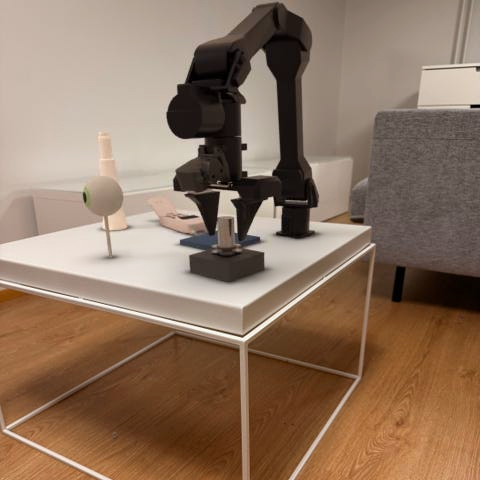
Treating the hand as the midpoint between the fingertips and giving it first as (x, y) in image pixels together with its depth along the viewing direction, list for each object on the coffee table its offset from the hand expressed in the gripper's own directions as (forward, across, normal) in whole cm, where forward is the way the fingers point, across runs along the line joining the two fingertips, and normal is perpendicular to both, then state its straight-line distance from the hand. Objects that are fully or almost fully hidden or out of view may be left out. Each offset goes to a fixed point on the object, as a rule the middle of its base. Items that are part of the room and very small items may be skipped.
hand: (226, 238), depth 77 cm
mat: (+6, -15, +14) cm, 21 cm away
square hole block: (+6, 0, 0) cm, 6 cm away
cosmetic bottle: (+6, -47, +10) cm, 48 cm away
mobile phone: (+6, -35, +20) cm, 41 cm away
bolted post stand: (+6, 0, 0) cm, 6 cm away
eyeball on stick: (+6, -24, -7) cm, 26 cm away
